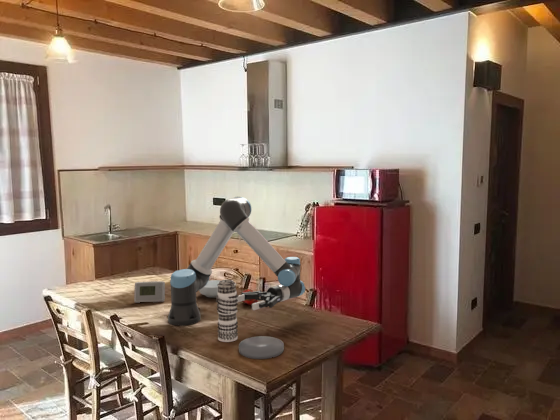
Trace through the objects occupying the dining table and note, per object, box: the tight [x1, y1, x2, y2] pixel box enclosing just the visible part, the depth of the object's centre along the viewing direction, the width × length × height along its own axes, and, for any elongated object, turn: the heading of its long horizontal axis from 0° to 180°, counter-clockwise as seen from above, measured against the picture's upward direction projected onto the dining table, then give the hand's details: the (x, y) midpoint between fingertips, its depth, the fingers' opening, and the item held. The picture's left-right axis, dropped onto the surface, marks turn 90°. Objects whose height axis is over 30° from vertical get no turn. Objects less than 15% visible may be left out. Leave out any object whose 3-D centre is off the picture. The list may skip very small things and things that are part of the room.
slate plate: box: [238, 335, 285, 360], centre depth 182 cm, size 18×18×2 cm
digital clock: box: [133, 280, 166, 303], centre depth 247 cm, size 16×9×11 cm, turn 85°
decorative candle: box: [215, 279, 239, 343], centre depth 193 cm, size 9×9×25 cm
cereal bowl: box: [198, 279, 222, 298], centre depth 257 cm, size 17×17×7 cm
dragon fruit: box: [242, 288, 259, 306], centre depth 241 cm, size 8×8×12 cm
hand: (242, 303), depth 198 cm, fingers open, 13 cm apart
